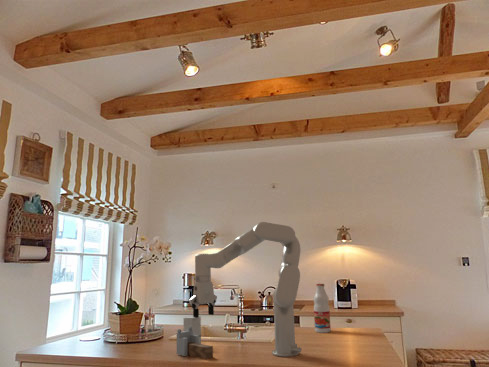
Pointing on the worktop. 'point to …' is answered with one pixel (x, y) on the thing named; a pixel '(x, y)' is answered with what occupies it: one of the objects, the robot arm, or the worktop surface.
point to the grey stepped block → (185, 340)
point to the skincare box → (193, 325)
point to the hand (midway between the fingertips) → (203, 315)
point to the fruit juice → (321, 310)
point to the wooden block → (199, 350)
